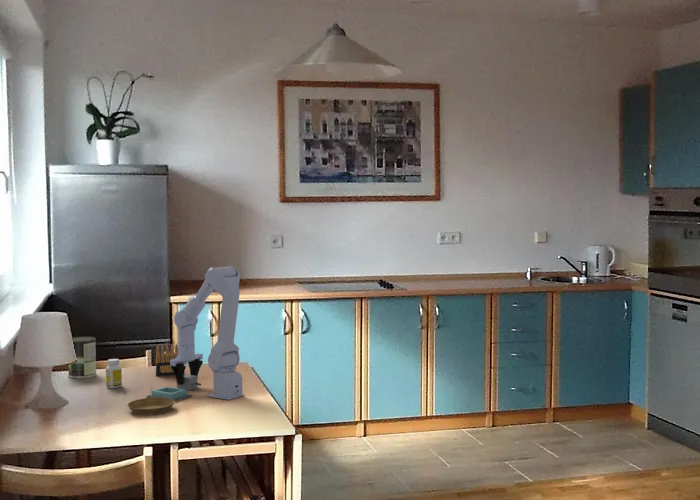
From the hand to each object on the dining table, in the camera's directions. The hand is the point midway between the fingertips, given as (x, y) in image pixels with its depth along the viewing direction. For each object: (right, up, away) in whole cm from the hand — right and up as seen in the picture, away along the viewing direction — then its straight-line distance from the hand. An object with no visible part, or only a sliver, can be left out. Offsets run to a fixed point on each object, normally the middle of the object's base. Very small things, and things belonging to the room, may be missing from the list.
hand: (187, 382), depth 303 cm
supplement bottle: (-27, -2, +3) cm, 27 cm away
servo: (+1, -2, 0) cm, 2 cm away
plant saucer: (-6, -5, -30) cm, 31 cm away
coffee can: (-44, -1, +22) cm, 49 cm away
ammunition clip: (-11, -1, +22) cm, 25 cm away
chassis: (-4, -3, -13) cm, 14 cm away
